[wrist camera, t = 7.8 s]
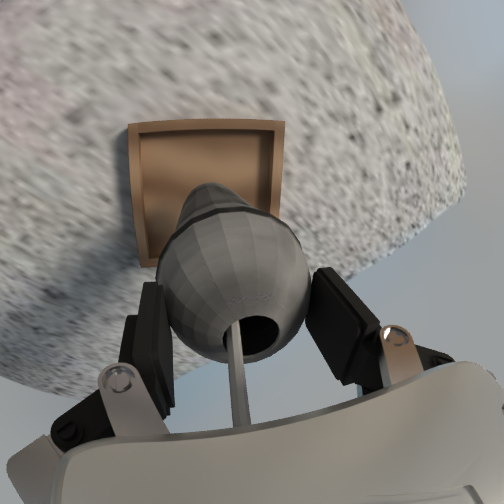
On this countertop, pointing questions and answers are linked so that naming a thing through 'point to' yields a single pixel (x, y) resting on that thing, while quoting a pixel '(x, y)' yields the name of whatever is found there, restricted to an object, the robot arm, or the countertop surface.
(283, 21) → the countertop surface
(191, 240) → the beverage cup
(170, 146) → the walnut tray
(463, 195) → the countertop surface
